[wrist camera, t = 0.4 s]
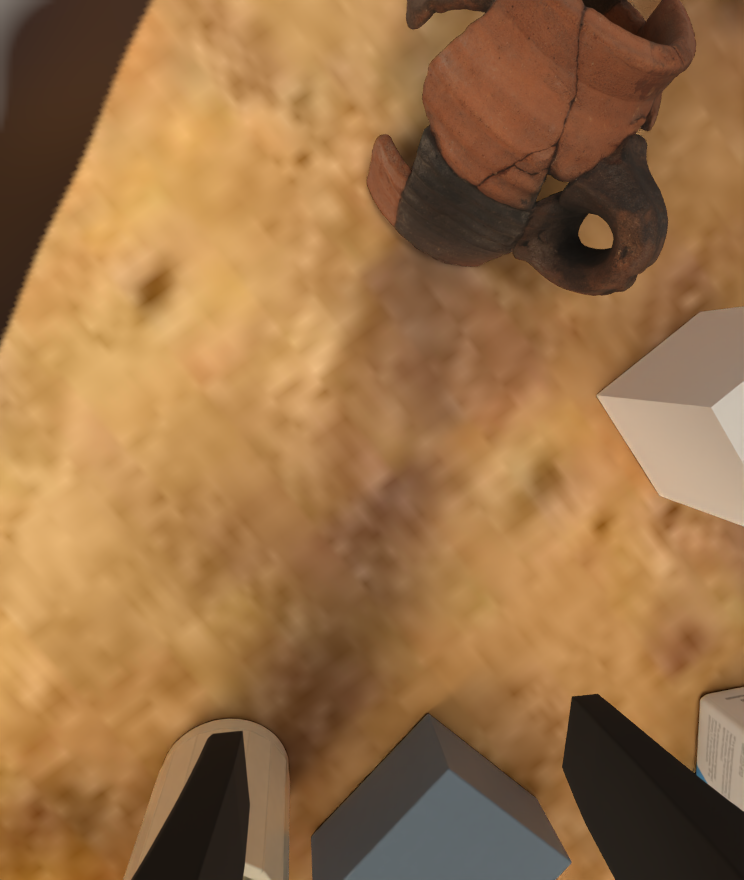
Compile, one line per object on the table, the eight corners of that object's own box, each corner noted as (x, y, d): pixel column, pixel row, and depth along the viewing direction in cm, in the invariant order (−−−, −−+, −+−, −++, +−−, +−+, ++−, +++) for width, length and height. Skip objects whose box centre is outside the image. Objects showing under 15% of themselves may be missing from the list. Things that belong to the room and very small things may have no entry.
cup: (209, 849, 22) (176, 1031, 16) (133, 766, 20) (68, 928, 15) (312, 781, 22) (318, 933, 16) (244, 694, 21) (223, 825, 15)
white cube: (756, 416, 23) (919, 435, 17) (659, 495, 22) (788, 543, 16) (699, 311, 21) (854, 291, 15) (595, 394, 21) (711, 407, 15)
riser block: (427, 912, 24) (447, 994, 21) (310, 836, 22) (312, 913, 19) (536, 798, 24) (572, 863, 21) (427, 711, 22) (449, 769, 19)
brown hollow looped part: (298, 131, 18) (385, -191, 11) (456, 94, 23) (592, -149, 15) (490, 388, 17) (715, 231, 10) (612, 296, 22) (827, 144, 15)
